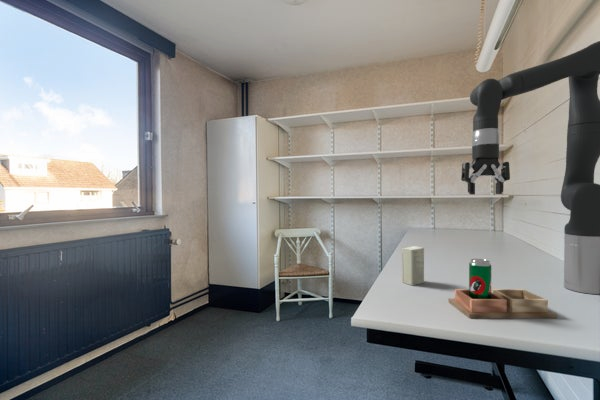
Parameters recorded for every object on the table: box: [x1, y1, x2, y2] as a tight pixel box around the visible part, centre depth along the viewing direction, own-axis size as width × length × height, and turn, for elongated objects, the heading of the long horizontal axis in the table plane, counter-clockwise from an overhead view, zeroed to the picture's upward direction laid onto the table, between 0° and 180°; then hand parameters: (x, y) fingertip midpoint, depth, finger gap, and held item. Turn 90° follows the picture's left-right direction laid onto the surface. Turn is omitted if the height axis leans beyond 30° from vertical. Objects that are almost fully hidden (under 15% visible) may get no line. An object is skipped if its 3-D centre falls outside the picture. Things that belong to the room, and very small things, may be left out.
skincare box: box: [401, 245, 425, 286], centre depth 104 cm, size 6×4×12 cm
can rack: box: [447, 288, 557, 319], centre depth 80 cm, size 21×11×4 cm, turn 89°
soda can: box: [468, 258, 492, 299], centre depth 80 cm, size 5×5×12 cm
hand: (485, 194), depth 99 cm, fingers open, 8 cm apart
